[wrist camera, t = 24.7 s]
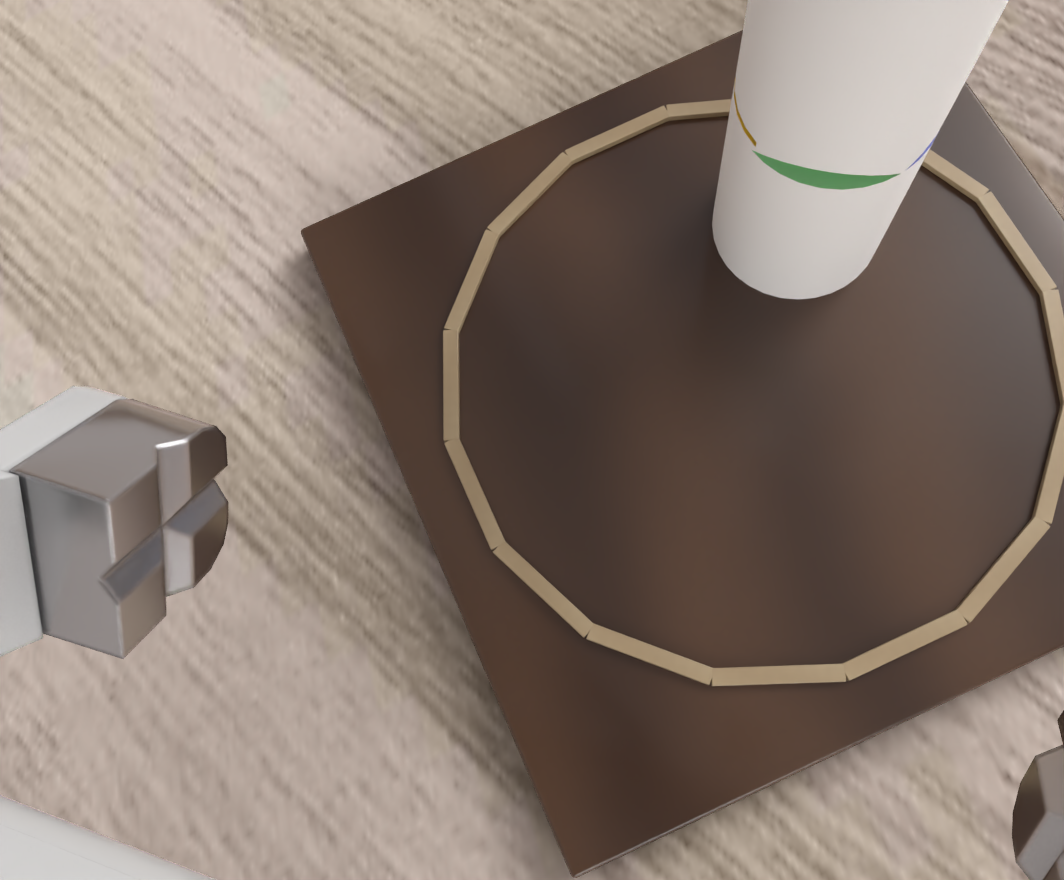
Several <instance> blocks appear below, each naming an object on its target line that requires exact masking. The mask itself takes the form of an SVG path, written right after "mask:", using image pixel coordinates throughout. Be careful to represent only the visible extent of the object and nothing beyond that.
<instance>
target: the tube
mask: <svg viewBox="0 0 1064 880" xmlns="http://www.w3.org/2000/svg"><path fill="white" fill-rule="evenodd" d="M1008 1H1009V0H748V3H747V9H746V15H745V21H744V27H743V33H742V39H741V45H740V51H739V58H738V64H737V70H736V77H735V82H734V88H733V94H732V100H731V106H730V112H729V119H728V125H727V131H726V137H725V143H724V149H723V155H722V161H721V167H720V173H719V180H718V186H717V192H716V198H715V204H714V210H713V220H712V229H713V237H714V241H715V244H716V247H717V250H718V252H719V254H720V256H721V258H722V259H723V261H724V263H725V264H726V266H727V267H728V268H729V269H730V270H731V271H732V272H733V273H734V275H735V276H736V277H738V278H739V279H740V280H742V281H743V282H744V283H746V284H747V285H748V286H750V287H752V288H754V289H756V290H758V291H760V292H762V293H765V294H768V295H772V296H775V297H779V298H787V299H809V298H817V297H820V296H824V295H827V294H831V293H833V292H835V291H837V290H839V289H841V288H843V287H845V286H846V285H848V284H849V283H850V282H852V281H853V280H854V279H856V278H857V277H858V276H859V275H860V274H861V273H862V271H863V270H864V269H865V268H866V267H867V266H868V264H869V262H870V260H871V259H872V257H873V255H874V253H875V252H876V250H877V248H878V246H879V244H880V242H881V240H882V238H883V236H884V234H885V233H886V231H887V229H888V227H889V225H890V223H891V221H892V219H893V217H894V216H895V214H896V212H897V210H898V208H899V206H900V204H901V202H902V200H903V199H904V197H905V195H906V193H907V191H908V189H909V187H910V185H911V183H912V181H913V180H914V178H915V176H916V174H917V172H918V170H919V168H920V166H921V164H922V163H923V161H924V159H925V157H926V155H927V153H928V151H929V149H930V147H931V146H932V144H933V142H934V140H935V138H936V136H937V134H938V132H939V130H940V128H941V126H942V124H943V123H944V121H945V119H946V117H947V115H948V113H949V112H950V110H951V108H952V106H953V104H954V102H955V100H956V99H957V97H958V95H959V93H960V91H961V89H962V87H963V86H964V84H965V82H966V80H967V78H968V76H969V74H970V73H971V71H972V69H973V67H974V65H975V63H976V61H977V59H978V57H979V56H980V54H981V52H982V50H983V48H984V46H985V44H986V42H987V40H988V39H989V37H990V35H991V33H992V31H993V29H994V27H995V25H996V23H997V22H998V20H999V18H1000V16H1001V14H1002V12H1003V10H1004V8H1005V6H1006V4H1007V3H1008Z"/></svg>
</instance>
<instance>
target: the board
mask: <svg viewBox="0 0 1064 880" xmlns="http://www.w3.org/2000/svg"><path fill="white" fill-rule="evenodd" d="M742 33H743V30H742V31H740V32H737V33H735V34H733V35H731V36H729V37H726V38H724V39H722V40H720V41H718V42H715V43H713V44H711V45H709V46H706V47H704V48H702V49H700V50H698V51H695V52H693V53H691V54H689V55H687V56H684V57H682V58H680V59H678V60H675V61H673V62H671V63H669V64H667V65H664V66H662V67H660V68H658V69H656V70H653V71H651V72H649V73H647V74H645V75H642V76H640V77H638V78H636V79H633V80H631V81H629V82H627V83H625V84H622V85H620V86H618V87H616V88H614V89H611V90H609V91H607V92H605V93H602V94H600V95H598V96H596V97H594V98H591V99H589V100H587V101H585V102H583V103H580V104H578V105H576V106H574V107H571V108H569V109H567V110H565V111H563V112H560V113H558V114H556V115H554V116H552V117H549V118H547V119H545V120H543V121H541V122H538V123H536V124H534V125H532V126H529V127H527V128H525V129H523V130H521V131H518V132H516V133H514V134H512V135H510V136H507V137H505V138H503V139H501V140H498V141H496V142H494V143H492V144H490V145H487V146H485V147H483V148H481V149H479V150H476V151H474V152H472V153H470V154H467V155H465V156H463V157H461V158H459V159H456V160H454V161H452V162H450V163H448V164H445V165H443V166H441V167H439V168H437V169H434V170H432V171H430V172H428V173H425V174H423V175H421V176H419V177H417V178H414V179H412V180H410V181H408V182H406V183H403V184H401V185H399V186H397V187H394V188H392V189H390V190H388V191H386V192H383V193H381V194H379V195H377V196H375V197H372V198H370V199H368V200H366V201H363V202H361V203H359V204H357V205H355V206H352V207H350V208H348V209H346V210H344V211H341V212H339V213H337V214H335V215H333V216H330V217H328V218H326V219H324V220H321V221H319V222H317V223H315V224H313V225H310V226H308V227H306V228H304V229H302V230H301V235H302V237H303V239H304V242H305V244H306V247H307V249H308V251H309V254H310V256H311V258H312V261H313V263H314V266H315V268H316V270H317V273H318V275H319V277H320V280H321V282H322V285H323V287H324V289H325V292H326V294H327V296H328V299H329V301H330V304H331V306H332V308H333V311H334V313H335V315H336V318H337V320H338V323H339V325H340V327H341V330H342V332H343V334H344V337H345V339H346V342H347V344H348V346H349V349H350V351H351V353H352V356H353V358H354V361H355V363H356V365H357V368H358V370H359V372H360V375H361V377H362V380H363V382H364V384H365V387H366V389H367V391H368V394H369V396H370V399H371V401H372V403H373V406H374V408H375V411H376V413H377V415H378V418H379V420H380V422H381V425H382V427H383V430H384V432H385V434H386V437H387V439H388V441H389V444H390V446H391V449H392V451H393V453H394V456H395V458H396V460H397V463H398V465H399V468H400V470H401V472H402V475H403V477H404V479H405V482H406V484H407V487H408V489H409V491H410V494H411V496H412V498H413V501H414V503H415V506H416V508H417V510H418V513H419V515H420V517H421V520H422V522H423V525H424V527H425V529H426V532H427V534H428V536H429V539H430V541H431V544H432V546H433V548H434V551H435V553H436V555H437V558H438V560H439V563H440V565H441V567H442V570H443V572H444V574H445V577H446V579H447V582H448V584H449V586H450V589H451V591H452V593H453V596H454V598H455V601H456V603H457V605H458V608H459V610H460V613H461V615H462V617H463V620H464V622H465V624H466V627H467V629H468V632H469V634H470V636H471V639H472V641H473V643H474V646H475V648H476V651H477V653H478V655H479V658H480V660H481V662H482V665H483V667H484V670H485V672H486V674H487V677H488V679H489V681H490V684H491V686H492V689H493V691H494V693H495V696H496V698H497V700H498V703H499V705H500V708H501V710H502V712H503V715H504V717H505V719H506V722H507V724H508V727H509V729H510V731H511V734H512V736H513V738H514V741H515V743H516V746H517V748H518V750H519V753H520V755H521V757H522V760H523V762H524V765H525V767H526V769H527V772H528V774H529V776H530V779H531V781H532V784H533V786H534V788H535V791H536V793H537V795H538V798H539V800H540V803H541V805H542V807H543V810H544V812H545V815H546V817H547V819H548V822H549V824H550V826H551V829H552V831H553V834H554V836H555V838H556V841H557V843H558V845H559V848H560V850H561V853H562V855H563V857H564V860H565V862H566V864H567V867H568V869H569V872H570V874H571V876H572V877H573V878H577V877H579V876H581V875H584V874H586V873H588V872H590V871H592V870H594V869H596V868H598V867H600V866H602V865H605V864H607V863H609V862H611V861H613V860H615V859H617V858H619V857H621V856H623V855H626V854H628V853H630V852H632V851H634V850H636V849H638V848H640V847H642V846H645V845H647V844H649V843H651V842H653V841H655V840H657V839H659V838H661V837H663V836H666V835H668V834H670V833H672V832H674V831H676V830H678V829H680V828H682V827H685V826H687V825H689V824H691V823H693V822H695V821H697V820H699V819H701V818H703V817H706V816H708V815H710V814H712V813H714V812H716V811H718V810H720V809H722V808H725V807H727V806H729V805H731V804H733V803H735V802H737V801H739V800H741V799H743V798H746V797H748V796H750V795H752V794H754V793H756V792H758V791H760V790H762V789H764V788H767V787H769V786H771V785H773V784H775V783H777V782H779V781H781V780H783V779H786V778H788V777H790V776H792V775H794V774H796V773H798V772H800V771H802V770H804V769H807V768H809V767H811V766H813V765H815V764H817V763H819V762H821V761H823V760H826V759H828V758H830V757H832V756H834V755H836V754H838V753H840V752H842V751H844V750H847V749H849V748H851V747H853V746H855V745H857V744H859V743H861V742H863V741H865V740H868V739H870V738H872V737H874V736H876V735H878V734H880V733H882V732H884V731H887V730H889V729H891V728H893V727H895V726H897V725H899V724H901V723H903V722H905V721H908V720H910V719H912V718H914V717H916V716H918V715H920V714H922V713H924V712H927V711H929V710H931V709H933V708H935V707H937V706H939V705H941V704H943V703H945V702H948V701H950V700H952V699H954V698H956V697H958V696H960V695H962V694H964V693H966V692H969V691H971V690H973V689H975V688H977V687H979V686H981V685H983V684H985V683H988V682H990V681H992V680H994V679H996V678H998V677H1000V676H1002V675H1004V674H1006V673H1009V672H1011V671H1013V670H1015V669H1017V668H1019V667H1021V666H1023V665H1025V664H1028V663H1030V662H1032V661H1034V660H1036V659H1038V658H1040V657H1042V656H1044V655H1046V654H1049V653H1051V652H1053V651H1055V650H1057V649H1059V648H1061V647H1063V646H1064V219H1063V218H1062V216H1061V215H1060V214H1059V212H1058V211H1057V209H1056V208H1055V207H1054V205H1053V204H1052V202H1051V201H1050V200H1049V198H1048V197H1047V195H1046V194H1045V193H1044V191H1043V190H1042V188H1041V187H1040V185H1039V184H1038V183H1037V181H1036V180H1035V178H1034V177H1033V176H1032V174H1031V173H1030V171H1029V170H1028V169H1027V167H1026V166H1025V164H1024V163H1023V162H1022V160H1021V159H1020V157H1019V156H1018V155H1017V153H1016V152H1015V150H1014V149H1013V148H1012V146H1011V145H1010V143H1009V142H1008V141H1007V139H1006V138H1005V136H1004V135H1003V133H1002V132H1001V131H1000V129H999V128H998V126H997V125H996V124H995V122H994V121H993V119H992V118H991V117H990V115H989V114H988V112H987V111H986V110H985V108H984V107H983V105H982V104H981V103H980V101H979V100H978V98H977V97H976V96H975V94H974V93H973V91H972V90H971V89H970V87H969V86H968V84H967V83H966V82H965V84H964V86H963V87H962V89H961V91H960V93H959V95H958V97H957V99H956V100H955V102H954V104H953V106H952V108H951V110H950V112H949V113H948V115H947V117H946V119H945V121H944V123H943V124H942V126H941V128H940V130H939V132H938V134H937V136H936V138H935V140H934V142H933V144H932V146H931V147H930V149H929V151H928V153H927V155H926V157H925V159H924V161H923V163H922V164H921V166H920V168H919V170H918V172H917V174H916V176H915V178H914V180H913V181H912V183H911V185H910V187H909V189H908V191H907V193H906V195H905V197H904V199H903V200H902V202H901V204H900V206H899V208H898V210H897V212H896V214H895V216H894V217H893V219H892V221H891V223H890V225H889V227H888V229H887V231H886V233H885V234H884V236H883V238H882V240H881V242H880V244H879V246H878V248H877V250H876V252H875V253H874V255H873V257H872V259H871V260H870V262H869V264H868V266H867V267H866V268H865V269H864V270H863V271H862V273H861V274H860V275H859V276H858V277H857V278H856V279H854V280H853V281H852V282H850V283H849V284H848V285H846V286H845V287H843V288H841V289H839V290H837V291H835V292H833V293H831V294H827V295H824V296H820V297H817V298H809V299H787V298H779V297H775V296H772V295H768V294H765V293H762V292H760V291H758V290H756V289H754V288H752V287H750V286H748V285H747V284H746V283H744V282H743V281H742V280H740V279H739V278H738V277H736V276H735V275H734V273H733V272H732V271H731V270H730V269H729V268H728V267H727V266H726V264H725V263H724V261H723V259H722V258H721V256H720V254H719V252H718V250H717V247H716V244H715V241H714V237H713V229H712V220H713V210H714V204H715V198H716V192H717V186H718V180H719V173H720V167H721V161H722V155H723V149H724V143H725V137H726V131H727V125H728V119H729V112H730V106H731V100H732V94H733V88H734V82H735V77H736V70H737V64H738V58H739V51H740V45H741V39H742Z"/></svg>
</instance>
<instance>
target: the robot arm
mask: <svg viewBox="0 0 1064 880" xmlns="http://www.w3.org/2000/svg"><path fill="white" fill-rule="evenodd" d="M226 466H227V449H226V437H225V435H224V434H223V433H222V432H221V431H220V430H219V429H218V428H217V427H216V426H214V425H211V424H208V423H205V422H202V421H198V420H195V419H192V418H189V417H186V416H183V415H180V414H177V413H174V412H171V411H168V410H165V409H162V408H158V407H155V406H152V405H149V404H146V403H143V402H140V401H137V400H134V399H128V398H126V397H124V396H121V395H117V394H114V393H111V392H108V391H104V390H101V389H98V388H94V387H91V386H72V387H70V388H69V389H67V390H65V391H64V392H62V393H60V394H59V395H57V396H55V397H54V398H52V399H50V400H49V401H47V402H45V403H44V404H42V405H40V406H38V407H37V408H35V409H33V410H32V411H30V412H28V413H27V414H25V415H23V416H22V417H20V418H18V419H17V420H15V421H13V422H12V423H10V424H8V425H6V426H5V427H3V428H1V429H0V656H3V655H5V654H7V653H10V652H12V651H14V650H17V649H19V648H21V647H24V646H26V645H28V644H31V643H33V642H35V641H38V640H40V639H42V638H43V634H46V635H50V636H53V637H56V638H59V639H62V640H65V641H68V642H71V643H75V644H78V645H81V646H84V647H87V648H90V649H93V650H96V651H100V652H103V653H106V654H109V655H112V656H115V657H118V658H121V659H124V658H125V657H126V656H127V655H128V654H129V653H130V652H131V651H132V650H133V649H134V648H135V647H136V645H137V644H138V643H139V642H140V641H141V640H142V639H143V638H144V637H145V636H146V635H147V634H148V633H149V632H150V631H151V630H152V629H153V628H154V627H155V626H156V625H157V624H158V623H159V622H160V621H161V620H162V619H163V618H164V617H165V616H166V597H167V596H170V595H173V594H176V593H179V592H182V591H185V590H188V589H191V588H194V587H195V586H196V585H197V583H198V582H199V581H200V580H201V579H202V578H203V577H204V576H205V575H206V574H207V573H208V572H209V571H210V570H211V568H212V566H213V564H214V562H215V560H216V558H217V556H218V554H219V552H220V550H221V548H222V546H223V544H224V540H225V535H226V530H227V525H228V501H227V499H226V498H225V496H224V494H223V493H222V491H221V490H220V488H219V486H218V485H217V483H216V481H215V480H214V479H215V478H216V477H217V476H218V475H219V474H220V473H221V472H222V471H223V469H224V468H225V467H226ZM1058 725H1059V729H1060V733H1061V737H1062V741H1063V745H1061V746H1059V747H1056V748H1054V749H1051V750H1049V751H1046V752H1044V753H1041V754H1039V755H1037V756H1035V758H1034V759H1033V761H1032V763H1031V765H1030V767H1029V768H1028V770H1027V772H1026V774H1025V776H1024V777H1023V779H1022V781H1021V783H1020V787H1019V791H1018V794H1017V798H1016V802H1015V806H1014V810H1013V826H1012V839H1013V846H1014V852H1015V859H1016V863H1017V864H1018V865H1019V867H1020V868H1021V869H1022V870H1023V872H1024V873H1025V874H1026V876H1027V877H1028V878H1029V879H1030V880H1064V711H1063V712H1062V714H1061V715H1060V717H1059V719H1058ZM0 880H217V879H215V878H212V877H210V876H207V875H205V874H202V873H199V872H197V871H194V870H192V869H189V868H187V867H184V866H181V865H179V864H176V863H174V862H171V861H169V860H166V859H164V858H161V857H158V856H156V855H153V854H151V853H148V852H146V851H143V850H141V849H138V848H135V847H133V846H130V845H128V844H125V843H123V842H120V841H118V840H115V839H112V838H110V837H107V836H105V835H102V834H100V833H97V832H94V831H92V830H89V829H87V828H84V827H82V826H79V825H77V824H74V823H71V822H69V821H66V820H64V819H61V818H59V817H56V816H54V815H51V814H48V813H46V812H43V811H41V810H38V809H36V808H33V807H30V806H28V805H25V804H23V803H20V802H18V801H15V800H13V799H10V798H7V797H5V796H2V795H0Z"/></svg>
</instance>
